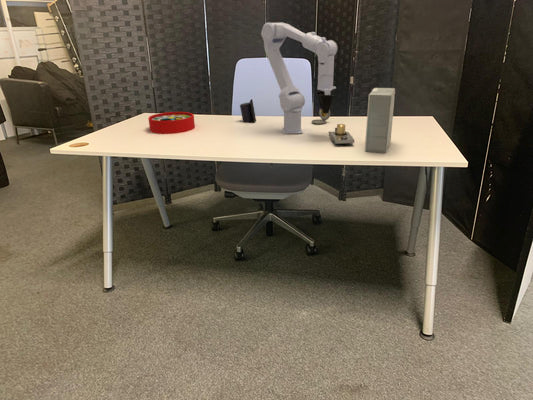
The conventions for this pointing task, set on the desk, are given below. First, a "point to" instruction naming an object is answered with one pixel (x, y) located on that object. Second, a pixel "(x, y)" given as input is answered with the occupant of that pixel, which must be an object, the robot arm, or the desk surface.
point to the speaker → (248, 112)
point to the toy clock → (171, 122)
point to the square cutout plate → (341, 138)
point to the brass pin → (340, 129)
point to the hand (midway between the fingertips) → (324, 111)
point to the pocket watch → (322, 117)
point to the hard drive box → (379, 119)
